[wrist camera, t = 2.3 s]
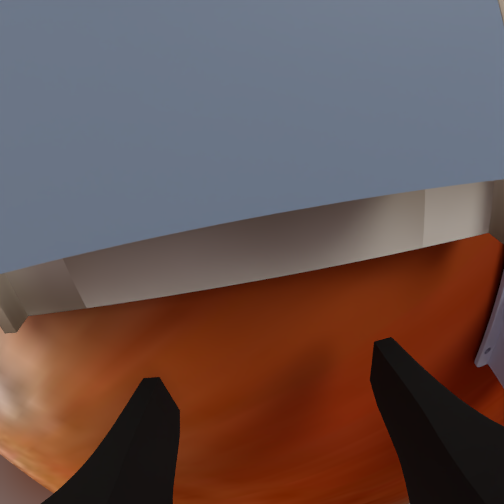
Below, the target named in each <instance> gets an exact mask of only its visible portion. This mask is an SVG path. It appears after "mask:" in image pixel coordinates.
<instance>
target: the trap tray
mask: <svg viewBox="0 0 504 504" xmlns="http://www.w3.org/2000/svg"><path fill="white" fill-rule="evenodd" d="M498 4H499V8H500V12H501V16H502V20H503V25H504V0H498ZM485 233H490V234H491V235H492V236H494V237H495V238H496V239H498V240H499V241H500V242H501V243H503V244H504V179H502V180H493V181H485V182H477V183H469V184H461V185H453V186H446V187H438V188H431V189H424V190H417V191H410V192H403V193H397V194H390V195H383V196H377V197H371V198H364V199H358V200H352V201H346V202H340V203H334V204H328V205H322V206H316V207H310V208H304V209H299V210H293V211H287V212H282V213H276V214H271V215H265V216H260V217H255V218H249V219H244V220H239V221H234V222H228V223H223V224H218V225H213V226H208V227H203V228H198V229H193V230H188V231H183V232H179V233H174V234H169V235H164V236H159V237H155V238H150V239H145V240H141V241H136V242H132V243H127V244H123V245H118V246H114V247H109V248H105V249H100V250H96V251H92V252H87V253H83V254H79V255H75V256H70V257H66V258H62V259H58V260H54V261H50V262H46V263H42V264H38V265H34V266H30V267H26V268H22V269H18V270H14V271H10V272H6V273H2V274H0V326H1V328H2V330H3V331H4V333H17V331H18V330H19V328H20V327H21V325H22V324H23V323H24V321H25V320H26V318H27V317H28V316H32V315H40V314H47V313H55V312H63V311H70V310H77V309H85V308H92V307H99V306H106V305H112V304H119V303H126V302H132V301H139V300H145V299H152V298H158V297H165V296H171V295H177V294H183V293H189V292H195V291H201V290H207V289H213V288H219V287H225V286H230V285H236V284H242V283H247V282H253V281H259V280H264V279H270V278H275V277H280V276H286V275H291V274H296V273H302V272H307V271H312V270H317V269H322V268H328V267H333V266H338V265H343V264H348V263H353V262H358V261H363V260H367V259H372V258H377V257H382V256H387V255H391V254H396V253H401V252H405V251H410V250H415V249H419V248H424V247H428V246H433V245H437V244H442V243H446V242H451V241H455V240H459V239H464V238H468V237H472V236H477V235H481V234H485Z"/></svg>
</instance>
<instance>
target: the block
mask: <svg viewBox="0 0 504 504" xmlns="http://www.w3.org/2000/svg"><path fill="white" fill-rule="evenodd" d="M502 179H504V25H503V20H502V16H501V12H500V8H499V4H498V0H0V274H2V273H6V272H10V271H14V270H18V269H22V268H26V267H30V266H34V265H38V264H42V263H46V262H50V261H54V260H58V259H62V258H66V257H70V256H75V255H79V254H83V253H87V252H92V251H96V250H100V249H105V248H109V247H114V246H118V245H123V244H127V243H132V242H136V241H141V240H145V239H150V238H155V237H159V236H164V235H169V234H174V233H179V232H183V231H188V230H193V229H198V228H203V227H208V226H213V225H218V224H223V223H228V222H234V221H239V220H244V219H249V218H255V217H260V216H265V215H271V214H276V213H282V212H287V211H293V210H299V209H304V208H310V207H316V206H322V205H328V204H334V203H340V202H346V201H352V200H358V199H364V198H371V197H377V196H383V195H390V194H397V193H403V192H410V191H417V190H424V189H431V188H438V187H446V186H453V185H461V184H469V183H477V182H485V181H493V180H502Z"/></svg>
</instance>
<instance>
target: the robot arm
mask: <svg viewBox="0 0 504 504" xmlns="http://www.w3.org/2000/svg"><path fill="white" fill-rule="evenodd" d="M474 363H475V365H476V366H477V367H481V366H484V365H486V364H488V365H489V367H490V368H491V369H492V371H493V372H494V374H495V375H496V377H497V379H498V380H499V382H500V383H501V385H502V386H503V388H504V271H503V275H502V279H501V283H500V287H499V290H498V294H497V297H496V301H495V304H494V308H493V311H492V314H491V317H490V320H489V323H488V326H487V329H486V332H485V335H484V338H483V340H482V343H481V346H480V348H479V351H478V353H477V356H476V359H475V362H474ZM370 382H371V385H372V389H373V392H374V396H375V399H376V403H377V406H378V408H379V411H380V413H381V415H382V418H383V420H384V423H385V425H386V427H387V430H388V432H389V435H390V437H391V440H392V442H393V444H394V447H395V449H396V452H397V454H398V457H399V460H400V463H401V467H402V470H403V474H404V478H405V482H406V487H407V491H408V496H409V501H410V504H504V426H502V425H500V424H498V423H496V422H494V421H492V420H490V419H489V418H487V417H486V416H484V415H482V414H481V413H479V412H478V411H476V410H475V409H473V408H472V407H470V406H469V405H467V404H466V403H465V402H463V401H462V400H460V399H459V398H458V397H457V396H455V395H454V394H453V393H452V392H450V391H449V390H448V389H446V388H445V387H444V386H443V385H442V384H441V383H439V382H438V381H437V380H436V379H435V378H434V377H433V376H431V375H430V374H429V373H428V372H427V371H426V370H425V369H424V368H423V367H422V366H420V365H419V364H418V363H417V362H416V361H415V360H414V359H413V358H412V357H411V356H410V355H409V354H408V353H407V352H406V351H405V350H404V349H403V348H402V347H401V346H400V345H399V344H398V343H397V342H396V341H395V340H394V339H393V338H391V337H390V338H386V339H383V340H379V341H375V342H374V348H373V358H372V367H371V375H370ZM179 437H180V410H179V409H178V407H177V405H176V404H175V402H174V401H173V399H172V397H171V396H170V394H169V392H168V391H167V389H166V387H165V386H164V384H163V382H162V381H161V379H160V377H154V378H143V380H142V381H141V383H140V384H139V386H138V388H137V389H136V391H135V392H134V394H133V395H132V397H131V399H130V400H129V402H128V403H127V405H126V407H125V408H124V410H123V411H122V413H121V414H120V416H119V417H118V419H117V421H116V422H115V424H114V425H113V427H112V428H111V430H110V431H109V432H108V434H107V435H106V437H105V438H104V439H103V441H102V442H101V444H100V445H99V446H98V448H97V449H96V450H95V452H94V453H93V454H92V455H91V457H90V458H89V459H88V460H87V461H86V462H85V464H84V465H83V466H82V467H81V468H80V469H79V470H78V471H77V472H76V473H75V474H74V475H73V476H72V477H71V478H70V479H69V480H68V481H67V482H66V483H65V484H64V485H63V486H62V487H61V488H60V489H59V490H58V491H56V492H55V493H54V494H53V495H52V496H50V497H49V498H48V499H46V500H45V501H44V502H42V503H41V504H173V485H174V477H175V469H176V461H177V453H178V445H179Z"/></svg>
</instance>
